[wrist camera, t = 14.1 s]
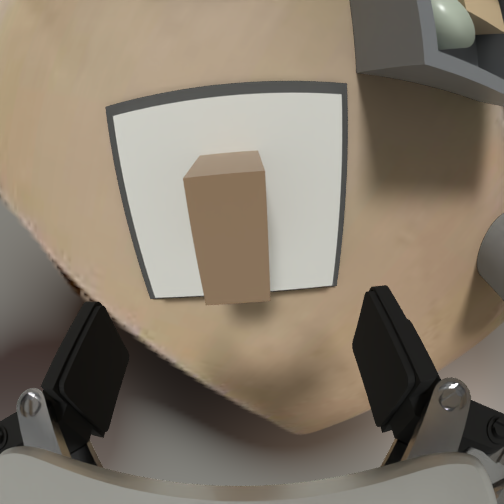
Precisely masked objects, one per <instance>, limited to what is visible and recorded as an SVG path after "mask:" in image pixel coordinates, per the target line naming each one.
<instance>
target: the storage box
mask: <svg viewBox="0 0 504 504" xmlns="http://www.w3.org/2000/svg"><path fill="white" fill-rule="evenodd" d="M350 7H351V14H352V23H353V32H354V43H355V56H356V72H357V73H362V74H369V75H376V76H383V77H388V78H394V79H399V80H404V81H409V82H414V83H418V84H422V85H427V86H431V87H434V88H438V89H442V90H445V91H449V92H452V93H455V94H459V95H462V96H465V97H468V98H471V99H474V100H476V101H479V102H484V103H490V104H494V105H499V106H503V107H504V0H350Z"/></svg>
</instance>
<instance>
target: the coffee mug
mask: <svg viewBox="0 0 504 504" xmlns="http://www.w3.org/2000/svg"><path fill="white" fill-rule="evenodd" d="M477 268H478V272H479V274H480V275H481V276H482V277H483V278H484V280H485V281H486V282H487V283H488V284H489V285H490V286H491V287H492V288H493V289H494V290H495V292H496V293H497V294H498V295H499V296H500V297H501V298H502V299H503V301H504V213H503V214H502V215H500V216H499V217H498V218H497V219H496V220H495V221H494V222H493V224H492V225H491V226H490V228H489V230H488V231H487V233H486V235H485V237H484V239H483V241H482V244H481V247H480V250H479V253H478V259H477Z"/></svg>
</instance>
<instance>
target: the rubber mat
mask: <svg viewBox="0 0 504 504" xmlns="http://www.w3.org/2000/svg"><path fill="white" fill-rule="evenodd" d="M259 93H326V94H342V169H341V192H340V209H339V223H338V236H337V247H336V257H335V266H334V275H333V283H332V286H337V279H338V271H339V263H340V254H341V245H342V235H343V223H344V211H345V196H346V177H347V146H348V106H347V83H334V82H316V81H262V82H244V83H231V84H221V85H211V86H203V87H196V88H189V89H183V90H177V91H171V92H166V93H160V94H155V95H151V96H146V97H142V98H137V99H133V100H129V101H125V102H121V103H117V104H114V105H110V106H107V107H106V115H107V123H108V130H109V136H110V142H111V148H112V154H113V160H114V165H115V170H116V175H117V180H118V185H119V189H120V194H121V198H122V203H123V207H124V211H125V215H126V219H127V223H128V227H129V230H130V234H131V238H132V241H133V245H134V249H135V252H136V255H137V259H138V262H139V265H140V269H141V272H142V275H143V278H144V281H145V284H146V287H147V290H148V293H149V296H150V299H158V298H155V295H154V292H153V289H152V286H151V283H150V280H149V277H148V274H147V270H146V267H145V264H144V260H143V257H142V253H141V250H140V246H139V242H138V239H137V235H136V231H135V227H134V223H133V219H132V215H131V211H130V207H129V202H128V198H127V193H126V189H125V184H124V179H123V174H122V169H121V164H120V158H119V153H118V147H117V141H116V134H115V127H114V120H113V116H115V115H119V114H123V113H127V112H131V111H135V110H140V109H144V108H149V107H154V106H159V105H164V104H170V103H175V102H182V101H188V100H195V99H202V98H211V97H220V96H230V95H243V94H259ZM322 287H330V286H322ZM312 288H320V287H312ZM301 289H310V288H301ZM290 290H299V289H290ZM278 291H288V290H278ZM270 292H276V291H270ZM185 297H203V296H185ZM162 298H183V297H162Z"/></svg>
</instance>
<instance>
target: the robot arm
mask: <svg viewBox="0 0 504 504" xmlns="http://www.w3.org/2000/svg"><path fill="white" fill-rule="evenodd" d="M352 348H353V352H354V355H355V358H356V361H357V364H358V367H359V371H360V374H361V377H362V380H363V383H364V387H365V390H366V393H367V396H368V400H369V403H370V407H371V410H372V413H373V417H374V420H375V423H376V426H377V427H380V426H381V430H382V433H383V432H387V431H390V430H392V431H393V434H394V437H395V440H394V442H393V444H392V446H391V448H390V450H389V452H388V453H387V455H386V457H385V459H384V461H383V463H382V465H381V466H380V467H379V468H375V469H371V470H367V471H363V472H358V473H354V474H349V475H344V476H339V477H333V478H328V479H322V480H316V481H309V482H300V483H291V484H280V485H264V486H214V485H198V484H187V483H178V482H170V481H163V480H156V479H150V478H145V477H140V476H135V475H130V474H125V473H121V472H117V471H113V470H109V469H105V468H103V466H102V464H101V462H100V460H99V458H98V456H97V454H96V452H95V450H94V448H93V445H92V443H91V441H90V436H91V434H92V435H95V436H99V437H104V434H105V432H107V431H108V429H109V426H110V422H111V419H112V415H113V411H114V407H115V404H116V400H117V397H118V393H119V390H120V387H121V384H122V380H123V377H124V374H125V371H126V367H127V364H128V361H129V353H128V351H127V349H126V347H125V345H124V344H123V341H122V340H121V338H120V336H119V334H118V332H117V330H116V328H115V326H114V324H113V322H112V320H111V318H110V316H109V314H108V312H107V310H106V308H105V307H104V306H102V304H101V303H100V302H85V303H84V304H83V306H82V307H81V309H80V311H79V313H78V314H77V316H76V318H75V319H74V321H73V323H72V325H71V327H70V328H69V330H68V332H67V334H66V336H65V338H64V340H63V342H62V343H61V345H60V347H59V349H58V351H57V353H56V355H55V357H54V359H53V361H52V363H51V365H50V367H49V370H48V372H47V374H46V376H45V378H44V380H43V383H42V385H41V387H42V388H43V389H44V390H43V392H41V391H40V390H38V389H35V388H31V389H28V390H26V391H25V392H24V393H23V394H22V395H21V396H20V398H19V400H18V402H17V412H16V413H14V414H12V415H10V416H9V417H7V418H5V419H4V420H2V421H0V504H504V414H503V413H501V412H498V411H496V410H493V409H491V408H489V407H486V406H484V405H482V404H479V403H477V402H475V401H472V400H471V395H470V392H469V389H468V388H467V386H466V385H465V384H464V383H463V382H462V381H460V380H458V379H456V378H445V379H443V380H441V379H440V377H439V375H438V373H437V371H436V369H435V366H434V364H433V362H432V360H431V358H430V356H429V354H428V352H427V351H426V349H425V347H424V345H423V343H422V341H421V339H420V337H419V335H418V334H417V332H416V330H415V328H414V326H413V324H412V323H411V322H410V320H408V319H407V318H406V317H405V315H404V313H403V311H402V309H401V308H400V306H399V304H398V303H397V301H396V299H395V297H394V296H393V294H392V292H391V291H390V289H389V288H388V286H386V285H384V286H376V287H371V288H370V290H369V292H366V293H365V296H364V300H363V304H362V308H361V313H360V317H359V320H358V324H357V328H356V332H355V335H354V339H353V343H352Z"/></svg>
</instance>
